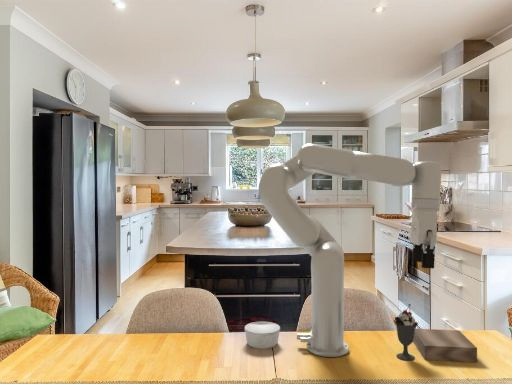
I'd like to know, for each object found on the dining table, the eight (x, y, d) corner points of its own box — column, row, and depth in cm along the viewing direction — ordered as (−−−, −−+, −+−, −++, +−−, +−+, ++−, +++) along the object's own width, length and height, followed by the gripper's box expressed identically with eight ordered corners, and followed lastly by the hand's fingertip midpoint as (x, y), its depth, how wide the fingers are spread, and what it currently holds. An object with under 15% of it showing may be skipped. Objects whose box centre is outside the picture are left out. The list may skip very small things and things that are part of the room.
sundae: (417, 354, 121) (417, 303, 120) (418, 363, 114) (418, 309, 114) (393, 351, 123) (393, 301, 122) (393, 360, 116) (393, 307, 116)
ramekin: (273, 335, 136) (273, 319, 136) (285, 348, 125) (285, 331, 125) (240, 339, 133) (240, 322, 133) (249, 352, 122) (249, 334, 122)
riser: (424, 359, 117) (424, 345, 117) (412, 341, 131) (412, 328, 131) (477, 362, 115) (477, 348, 115) (459, 343, 129) (459, 330, 129)
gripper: (404, 203, 127) (402, 258, 127) (420, 206, 110) (417, 270, 110) (430, 204, 126) (427, 259, 126) (449, 207, 109) (446, 271, 109)
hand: (422, 264), depth 118 cm, fingers open, 9 cm apart
